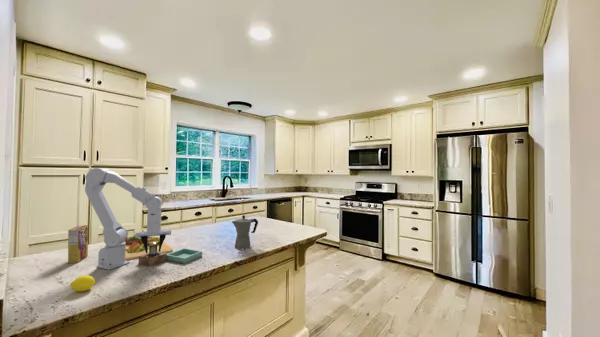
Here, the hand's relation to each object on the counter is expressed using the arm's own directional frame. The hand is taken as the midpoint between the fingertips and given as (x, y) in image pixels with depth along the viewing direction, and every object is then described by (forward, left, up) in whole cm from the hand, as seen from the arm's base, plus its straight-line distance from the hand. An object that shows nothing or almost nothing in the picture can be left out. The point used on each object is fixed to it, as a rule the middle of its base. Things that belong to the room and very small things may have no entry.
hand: (153, 251), depth 120 cm
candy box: (-12, +33, -5) cm, 35 cm away
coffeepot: (+39, -25, -5) cm, 47 cm away
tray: (+10, -9, -5) cm, 14 cm away
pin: (0, 0, -5) cm, 5 cm away
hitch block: (0, 0, -5) cm, 5 cm away
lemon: (-30, -2, -5) cm, 31 cm away
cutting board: (+13, +24, -6) cm, 28 cm away
